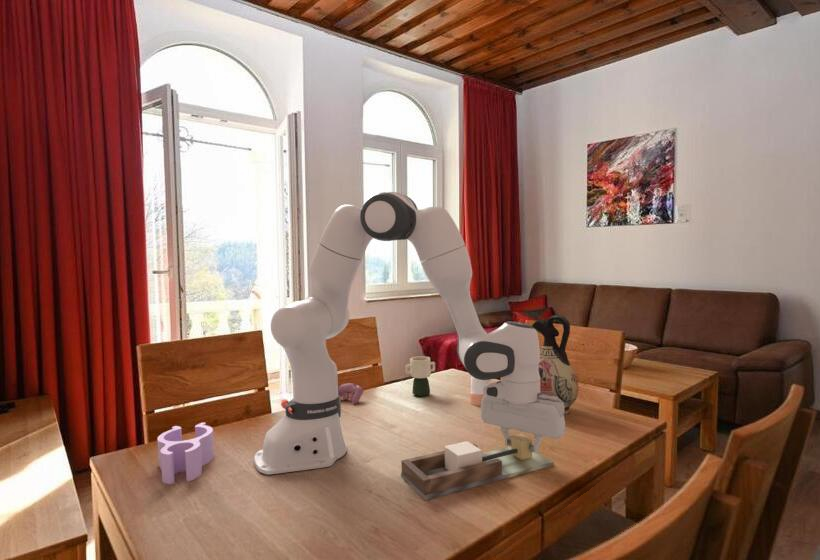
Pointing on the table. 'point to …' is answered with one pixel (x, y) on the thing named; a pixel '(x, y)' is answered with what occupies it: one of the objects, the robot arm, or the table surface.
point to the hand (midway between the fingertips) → (521, 448)
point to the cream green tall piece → (420, 374)
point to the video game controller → (350, 387)
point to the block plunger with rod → (471, 455)
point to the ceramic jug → (556, 363)
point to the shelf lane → (464, 472)
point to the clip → (185, 452)
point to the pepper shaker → (477, 390)
